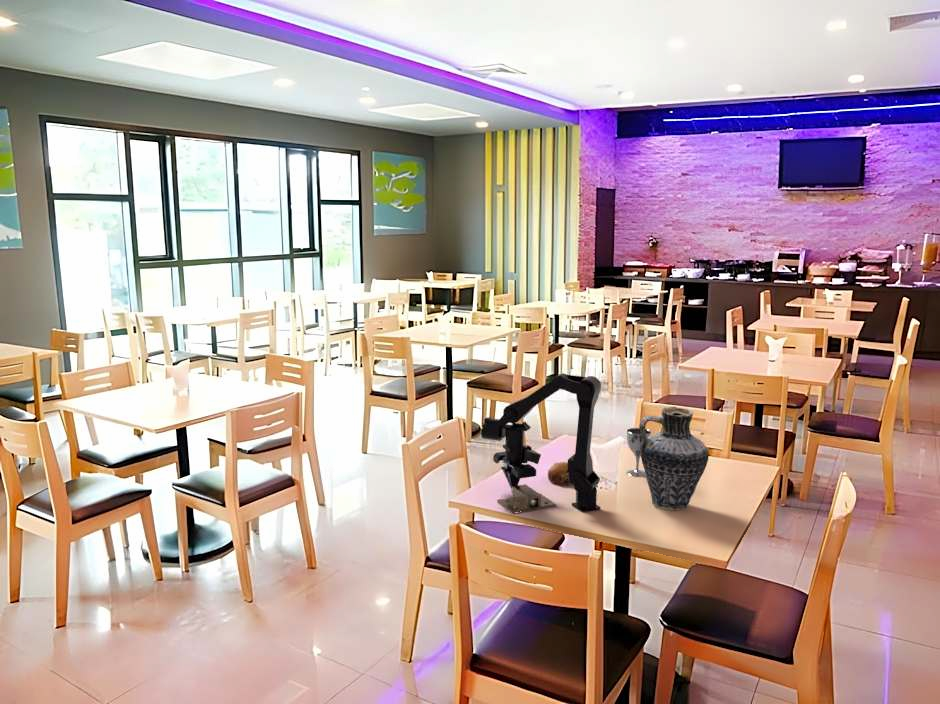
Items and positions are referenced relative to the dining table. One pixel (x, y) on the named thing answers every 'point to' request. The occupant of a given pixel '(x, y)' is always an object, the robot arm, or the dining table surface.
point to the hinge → (525, 500)
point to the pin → (532, 501)
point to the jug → (672, 459)
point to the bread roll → (559, 474)
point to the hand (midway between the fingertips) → (513, 490)
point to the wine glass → (636, 448)
